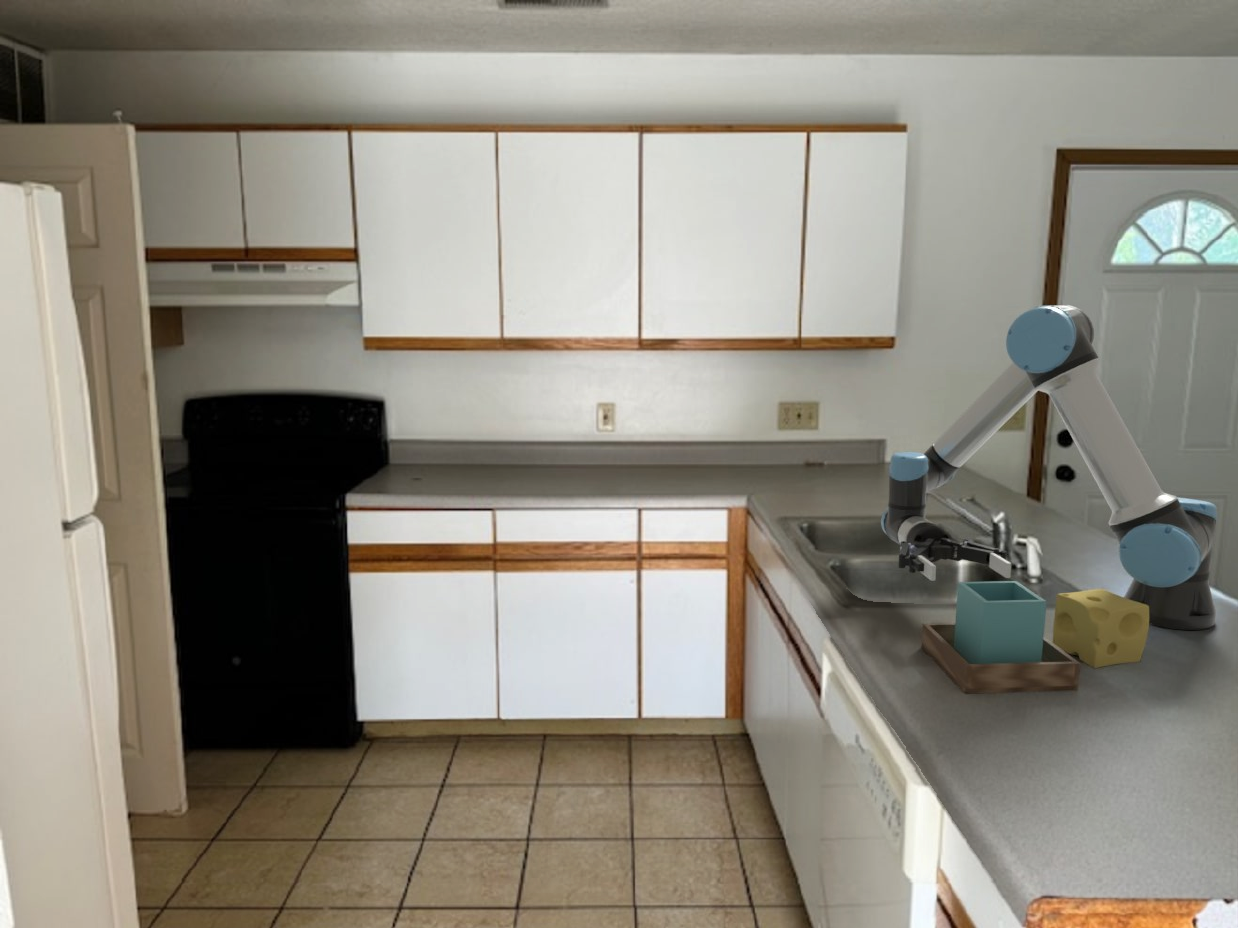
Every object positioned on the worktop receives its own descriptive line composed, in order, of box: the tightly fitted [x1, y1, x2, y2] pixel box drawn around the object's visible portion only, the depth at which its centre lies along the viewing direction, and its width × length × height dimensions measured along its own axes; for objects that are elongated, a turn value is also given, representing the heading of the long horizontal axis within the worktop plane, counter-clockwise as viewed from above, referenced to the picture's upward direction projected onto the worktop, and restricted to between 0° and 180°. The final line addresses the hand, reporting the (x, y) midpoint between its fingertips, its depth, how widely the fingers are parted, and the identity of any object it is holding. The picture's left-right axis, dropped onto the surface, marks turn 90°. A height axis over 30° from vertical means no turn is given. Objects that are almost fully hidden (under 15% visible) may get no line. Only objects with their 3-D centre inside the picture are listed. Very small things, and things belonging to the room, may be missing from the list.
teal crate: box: [954, 580, 1048, 664], centre depth 147 cm, size 10×10×12 cm
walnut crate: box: [921, 622, 1081, 694], centre depth 148 cm, size 18×18×4 cm
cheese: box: [1052, 588, 1150, 669], centre depth 154 cm, size 10×11×10 cm
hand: (971, 572), depth 158 cm, fingers open, 13 cm apart
